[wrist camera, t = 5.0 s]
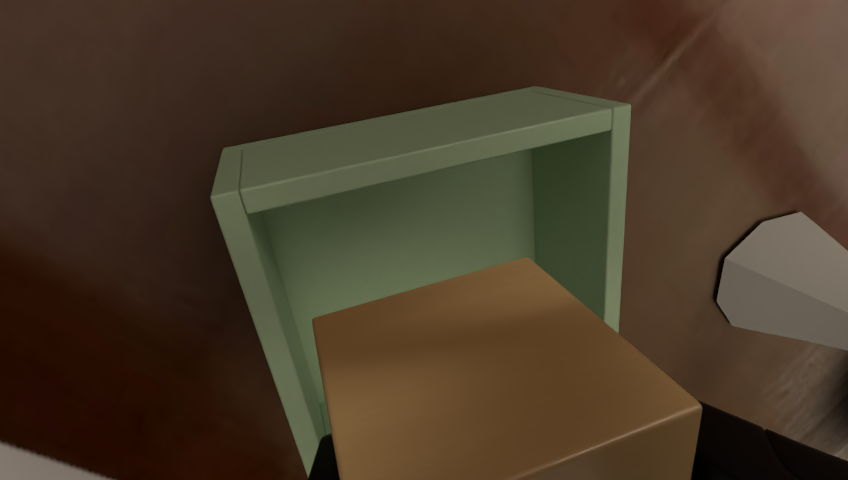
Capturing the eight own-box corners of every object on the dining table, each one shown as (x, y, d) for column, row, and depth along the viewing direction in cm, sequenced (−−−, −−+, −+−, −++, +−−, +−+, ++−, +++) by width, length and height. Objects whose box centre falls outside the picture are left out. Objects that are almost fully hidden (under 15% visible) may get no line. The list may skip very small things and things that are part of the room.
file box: (221, 148, 17) (209, 196, 12) (536, 85, 20) (632, 103, 15) (306, 408, 22) (321, 517, 17) (542, 330, 25) (615, 404, 20)
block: (357, 478, 11) (414, 734, 7) (310, 317, 9) (350, 545, 5) (535, 413, 12) (672, 605, 8) (527, 254, 10) (705, 404, 6)
